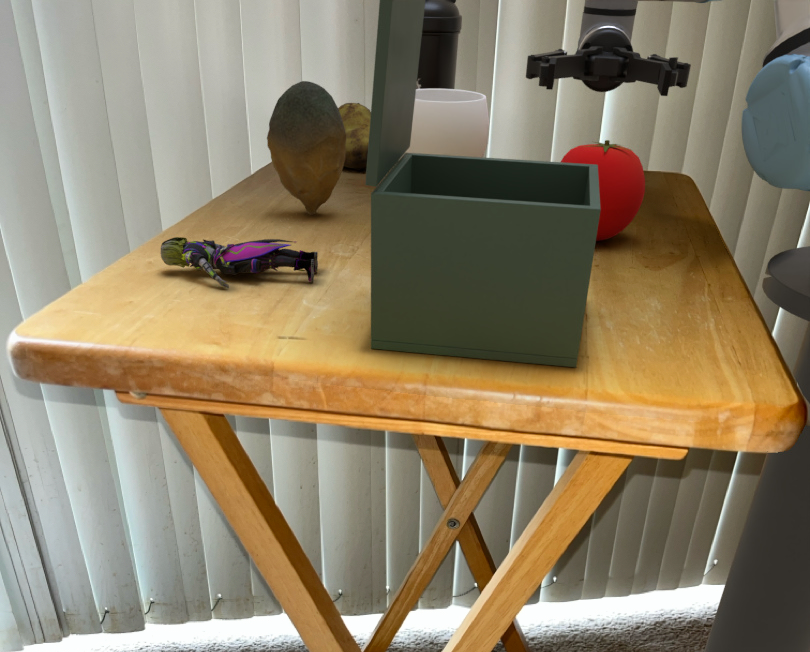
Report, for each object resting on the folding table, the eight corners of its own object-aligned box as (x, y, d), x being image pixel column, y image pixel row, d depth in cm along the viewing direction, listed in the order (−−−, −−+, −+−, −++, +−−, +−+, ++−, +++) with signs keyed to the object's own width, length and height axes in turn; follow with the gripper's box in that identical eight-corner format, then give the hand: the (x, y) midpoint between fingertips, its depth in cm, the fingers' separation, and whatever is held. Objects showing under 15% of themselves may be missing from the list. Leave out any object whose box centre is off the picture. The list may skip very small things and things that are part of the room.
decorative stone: (350, 210, 109) (349, 79, 100) (343, 223, 104) (340, 86, 95) (277, 206, 109) (269, 75, 100) (266, 219, 104) (256, 82, 96)
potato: (318, 171, 126) (316, 112, 121) (335, 153, 136) (334, 98, 132) (373, 174, 125) (373, 115, 120) (386, 156, 135) (386, 101, 131)
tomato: (527, 237, 101) (538, 139, 94) (574, 220, 107) (587, 127, 101) (604, 256, 95) (621, 154, 89) (649, 237, 102) (667, 140, 96)
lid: (436, -103, 66) (425, -105, 66) (402, -114, 54) (388, -115, 54) (409, 147, 77) (400, 145, 77) (376, 187, 65) (365, 185, 65)
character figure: (321, 266, 91) (174, 254, 91) (321, 231, 89) (170, 218, 89) (309, 296, 84) (149, 283, 84) (309, 258, 81) (144, 245, 81)
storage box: (577, 303, 83) (597, 164, 75) (576, 367, 70) (600, 209, 63) (402, 288, 85) (405, 152, 78) (370, 348, 73) (370, 193, 65)
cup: (498, 241, 99) (511, 99, 90) (423, 254, 94) (428, 105, 86) (448, 219, 106) (455, 85, 97) (375, 230, 102) (376, 90, 93)
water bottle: (377, 158, 134) (378, -14, 121) (428, 151, 139) (434, -15, 126) (415, 170, 128) (421, -10, 114) (467, 163, 133) (478, -11, 119)
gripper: (690, 93, 118) (708, 121, 101) (512, 83, 121) (500, 108, 104) (703, 31, 113) (724, 49, 96) (518, 22, 116) (506, 38, 99)
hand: (608, 80), depth 100 cm, fingers open, 13 cm apart
